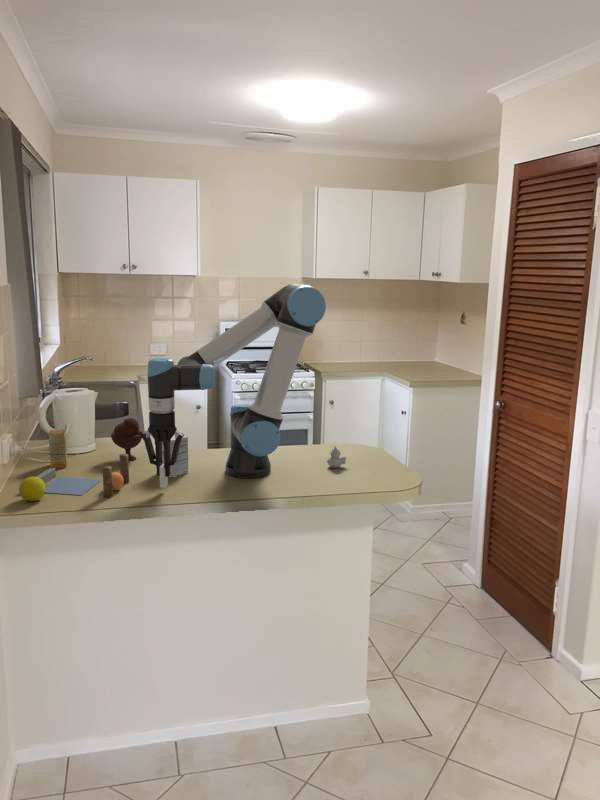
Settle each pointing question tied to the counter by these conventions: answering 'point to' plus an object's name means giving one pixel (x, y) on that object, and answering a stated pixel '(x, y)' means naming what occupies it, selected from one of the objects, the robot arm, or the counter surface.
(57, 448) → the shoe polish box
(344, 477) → the counter surface
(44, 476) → the blue-grey rod
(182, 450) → the supplement box
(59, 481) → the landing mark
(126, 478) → the right post
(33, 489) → the tennis ball
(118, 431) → the ice cream bowl
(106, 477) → the left post
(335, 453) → the grey figurine
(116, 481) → the ball
